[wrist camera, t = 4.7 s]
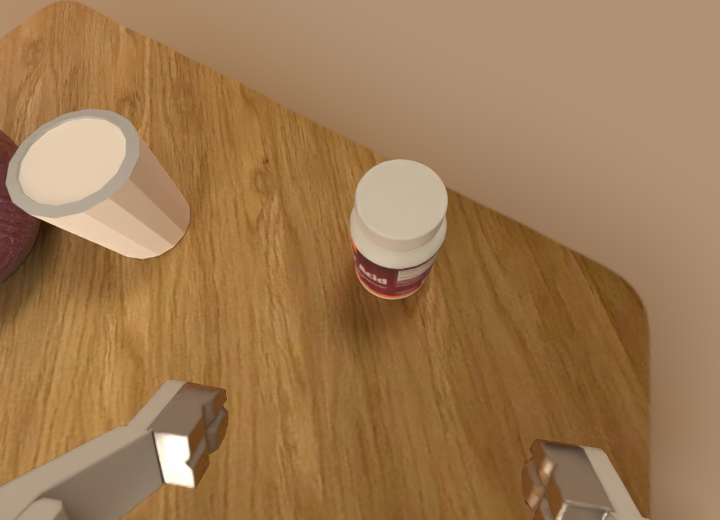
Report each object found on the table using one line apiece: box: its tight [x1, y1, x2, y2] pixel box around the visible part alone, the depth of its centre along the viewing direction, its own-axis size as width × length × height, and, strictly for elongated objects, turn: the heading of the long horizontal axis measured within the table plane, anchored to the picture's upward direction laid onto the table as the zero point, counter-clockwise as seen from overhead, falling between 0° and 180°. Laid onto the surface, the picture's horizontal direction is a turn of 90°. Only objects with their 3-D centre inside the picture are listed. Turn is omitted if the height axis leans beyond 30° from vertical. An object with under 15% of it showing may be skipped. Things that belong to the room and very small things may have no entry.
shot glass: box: [6, 109, 190, 259], centre depth 22 cm, size 7×7×7 cm
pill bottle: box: [350, 159, 448, 299], centre depth 19 cm, size 5×5×8 cm
